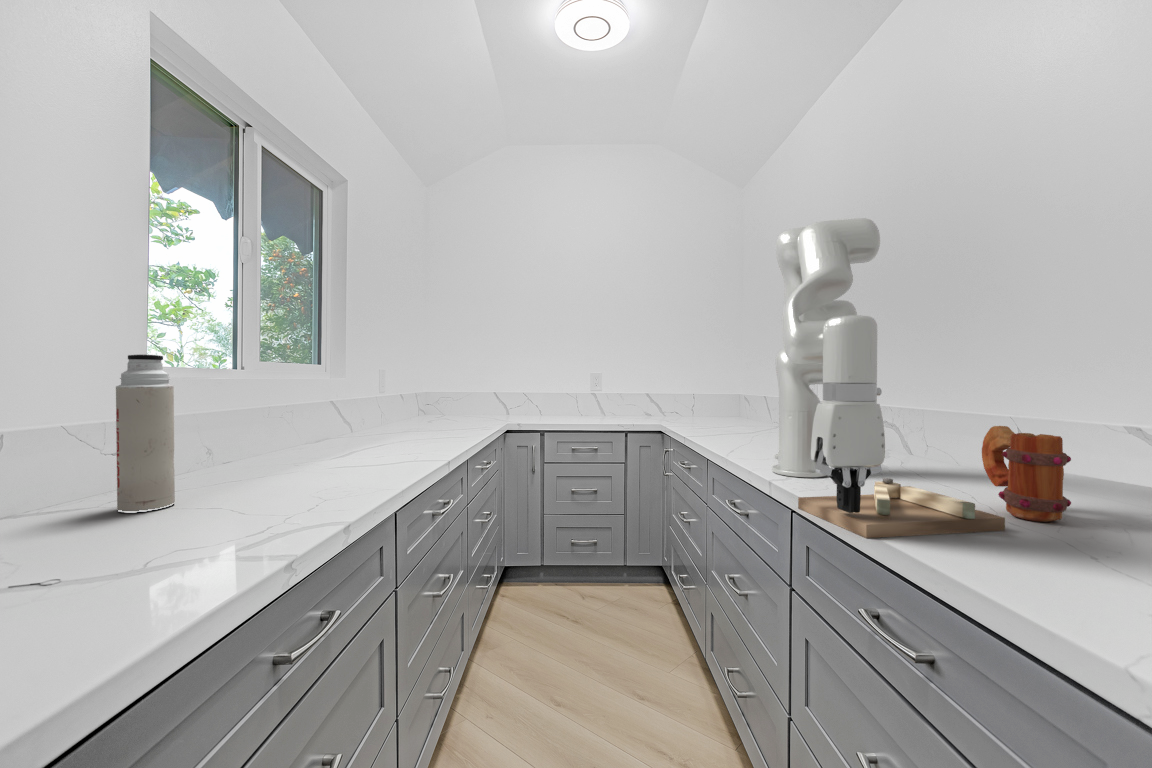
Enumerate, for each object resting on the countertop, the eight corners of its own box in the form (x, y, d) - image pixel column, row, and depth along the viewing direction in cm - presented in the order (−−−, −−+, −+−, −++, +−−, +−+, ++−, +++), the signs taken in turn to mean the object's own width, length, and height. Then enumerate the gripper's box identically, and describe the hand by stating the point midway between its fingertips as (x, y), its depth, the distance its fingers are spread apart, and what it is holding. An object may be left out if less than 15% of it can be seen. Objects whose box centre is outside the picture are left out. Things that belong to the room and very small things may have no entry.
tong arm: (873, 492, 94) (873, 480, 94) (899, 494, 92) (899, 482, 92) (876, 514, 79) (877, 500, 79) (908, 517, 77) (908, 503, 77)
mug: (1086, 527, 79) (1088, 432, 79) (1034, 526, 80) (1035, 432, 79) (1008, 503, 94) (1009, 424, 94) (964, 503, 94) (965, 424, 94)
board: (798, 508, 91) (798, 497, 91) (914, 503, 94) (914, 492, 94) (866, 538, 74) (866, 524, 74) (1004, 530, 78) (1004, 517, 77)
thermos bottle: (109, 515, 86) (107, 353, 85) (127, 505, 93) (125, 355, 93) (167, 510, 89) (165, 354, 89) (180, 500, 96) (178, 355, 96)
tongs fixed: (880, 494, 92) (880, 478, 92) (894, 494, 92) (895, 478, 92) (961, 519, 76) (961, 499, 76) (978, 518, 76) (978, 499, 76)
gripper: (874, 393, 83) (873, 502, 84) (791, 394, 81) (791, 506, 81) (910, 395, 76) (909, 515, 76) (821, 396, 74) (820, 519, 74)
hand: (848, 510), depth 79 cm, fingers closed
